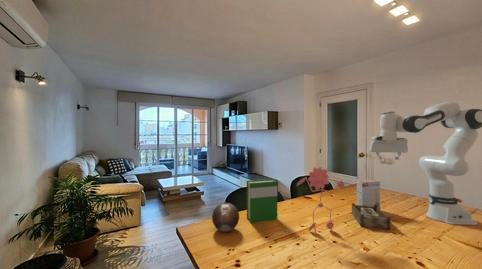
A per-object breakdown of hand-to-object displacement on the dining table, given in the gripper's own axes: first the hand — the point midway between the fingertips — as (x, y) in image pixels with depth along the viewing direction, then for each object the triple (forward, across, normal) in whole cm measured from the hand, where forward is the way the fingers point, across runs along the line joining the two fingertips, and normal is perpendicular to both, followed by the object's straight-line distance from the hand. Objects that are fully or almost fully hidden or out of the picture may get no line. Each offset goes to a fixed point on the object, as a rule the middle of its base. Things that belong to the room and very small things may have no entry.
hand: (388, 159), depth 132 cm
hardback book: (+37, +77, +22) cm, 88 cm away
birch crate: (+36, +13, +8) cm, 39 cm away
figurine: (+37, +44, +28) cm, 64 cm away
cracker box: (+37, +8, -11) cm, 40 cm away
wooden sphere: (+37, +94, +42) cm, 110 cm away
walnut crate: (+37, +13, +8) cm, 40 cm away
